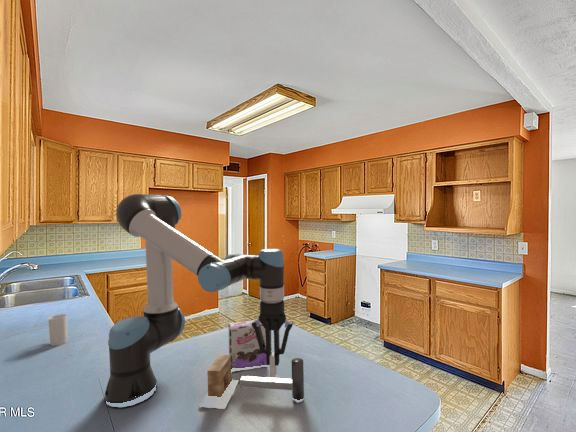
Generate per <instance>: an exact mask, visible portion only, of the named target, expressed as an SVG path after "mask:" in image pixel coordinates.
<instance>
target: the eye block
mask: <svg viewBox="0 0 576 432" xmlns="http://www.w3.org/2000/svg"><path fill="white" fill-rule="evenodd" d="M206 370H207V372H206V373H207V375H206V376H207V392H208V396H217V397H221V396H222V394H223V393H224V391H225V390H226V388H227V387H228V385H229V384H230V382H231V381H232V379H233V378H232V373H231V355H229V354H219V355H218V356H217V357H216V358H215V360H214V362H212V364H211V365H210V367H208V369H206Z"/></svg>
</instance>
